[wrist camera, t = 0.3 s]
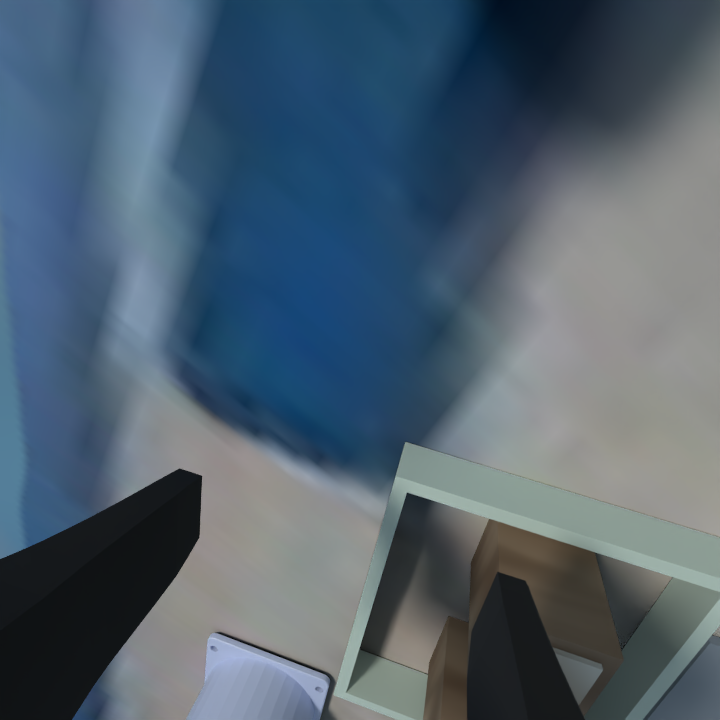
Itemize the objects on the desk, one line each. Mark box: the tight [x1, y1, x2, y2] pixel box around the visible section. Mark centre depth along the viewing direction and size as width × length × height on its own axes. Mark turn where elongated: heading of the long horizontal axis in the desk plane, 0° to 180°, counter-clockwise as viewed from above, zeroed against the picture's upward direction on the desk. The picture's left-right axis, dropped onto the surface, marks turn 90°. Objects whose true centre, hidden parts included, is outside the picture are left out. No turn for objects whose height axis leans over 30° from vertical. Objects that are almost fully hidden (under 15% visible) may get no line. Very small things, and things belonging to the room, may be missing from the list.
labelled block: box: [466, 519, 624, 716], centre depth 19 cm, size 4×4×6 cm
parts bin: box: [334, 442, 720, 720], centre depth 22 cm, size 15×13×2 cm
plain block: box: [423, 616, 469, 720], centre depth 23 cm, size 4×4×6 cm
